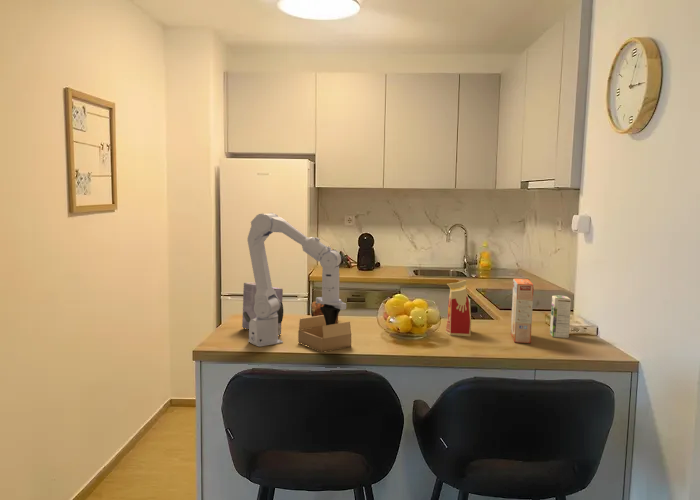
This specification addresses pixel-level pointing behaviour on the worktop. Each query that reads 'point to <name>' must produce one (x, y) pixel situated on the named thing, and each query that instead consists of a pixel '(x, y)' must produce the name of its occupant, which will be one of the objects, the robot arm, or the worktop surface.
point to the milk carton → (458, 310)
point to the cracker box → (522, 310)
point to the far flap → (312, 322)
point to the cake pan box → (250, 301)
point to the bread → (318, 310)
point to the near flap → (336, 330)
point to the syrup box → (560, 316)
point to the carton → (322, 340)
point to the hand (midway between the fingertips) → (330, 327)
